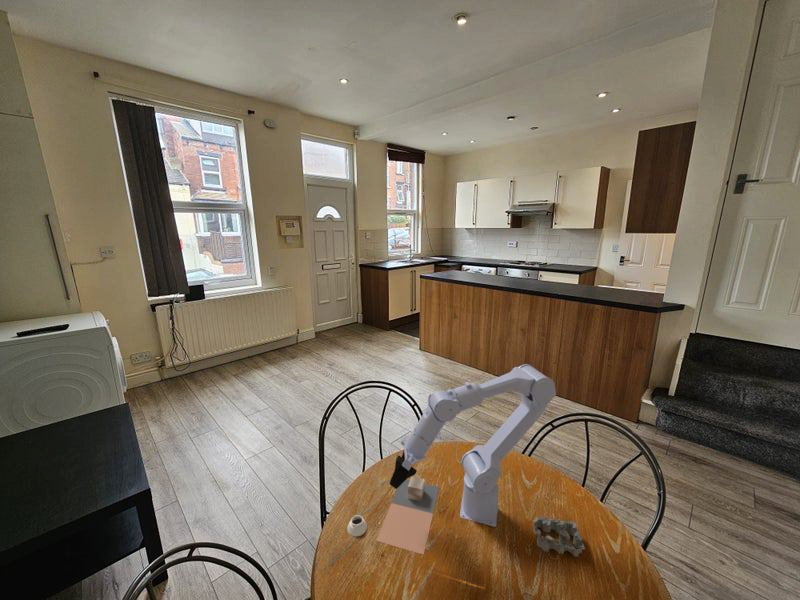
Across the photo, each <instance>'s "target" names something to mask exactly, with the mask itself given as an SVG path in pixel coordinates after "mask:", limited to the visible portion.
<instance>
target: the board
mask: <svg viewBox="0 0 800 600" xmlns="http://www.w3.org/2000/svg"><path fill="white" fill-rule="evenodd" d="M409 482H410V479H406V480H405V481H404V482H403V483H402V484H401V485H400V486H399V487H398V488H397V489H395V492H394V496H393V498H392V501H391V503H390V505H389V507H388V510H387V513H386V515H385V517H384V521H383V523H382V526H381V527H380V530H379V532H378V535H377V537H376V540H375V541H376V542H379V543H383V544H385V545H389V546H393V547H396V548H399V549H402V550H406V551H410V552H412V553H416V554H419V555H424V554H425V551H426V546H427V542H428V537H429V533H430V530H431V529H430V528H431V525H432V520H433V516H434V511H435V508H436V503H437V498H438V496H439V495H438V494H439V491H440V486H438V485H433V484H429V483H425V486H424V494H423V498H422V501H417V500H413V499H409V498H408V485H409Z"/></svg>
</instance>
